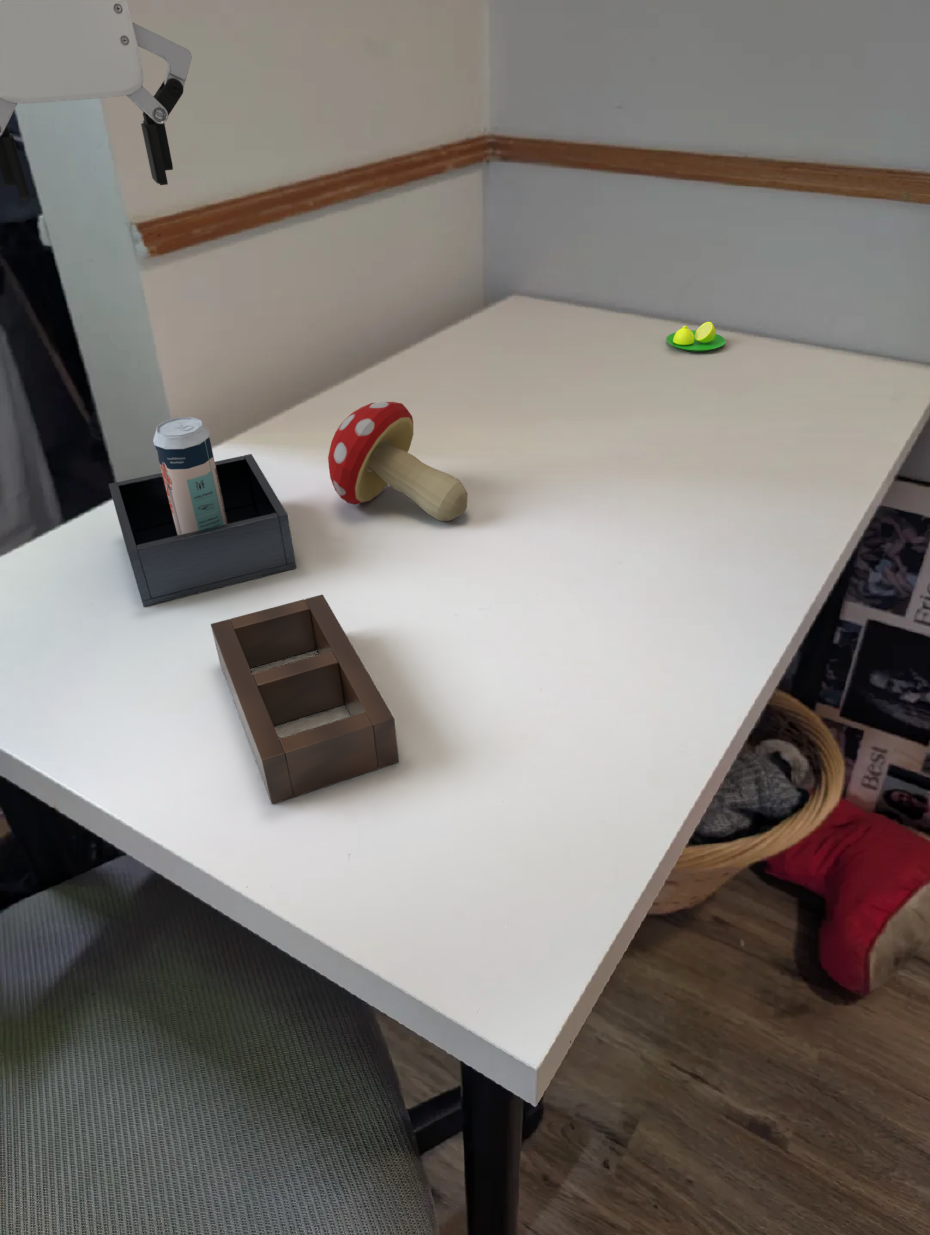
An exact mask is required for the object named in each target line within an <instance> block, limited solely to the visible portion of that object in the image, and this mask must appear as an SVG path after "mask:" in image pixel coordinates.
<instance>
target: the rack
mask: <svg viewBox="0 0 930 1235" xmlns="http://www.w3.org/2000/svg"><path fill="white" fill-rule="evenodd" d="M210 627H211V632H212V637H213V641H214V645H215V649H216V652H217V653H216V654H217V657H218V661H219V665H220V668H221V671H222V673H223V676H224V679H225V681H226V684H227V687H228V689H229V692H230V695H231V698H232V701H233V703H234V707H235V709H236V711H237V712H236V713H237V714H238V717H239V719H240V723H241V725H242V728H243V731H244V734H245V736H246V739H247V741H248V744H249V747H250V749H251V753H252V755H253V758H254V760H255V763H256V766H257V769H258V771H259V774H260V776H261V780H262V782H263V785H264V788H265V790H266V793H267V795H268V799H269V801H270V804H271V805H274V804H277V803H280V802H283V801H286V800H289V799H293V798H294V797H298V796H301V795H304V794H307V793H310V792H313V791H316V790H319V789H322V788H325V787H328V786H331V785H334V784H337V783H340V782H343V781H347V780H349V779H352V778H355V777H358V776H361V775H364V774H368V773H370V772H374V771H376V770H379V769H383V768H385V767H388V766H391V765H393V764H397V763H399V762H400V761H399V760H400V759H399V750H398V742H397V741H398V739H397V730H396V722H395V717H394V715H393V714H392V712H391V710H390V709H389V707H388V705H387V703H386V702H385V700H384V698H383V697H382V695H381V693H380V691H379V689H378V688H377V686H376V684H375V682H374V681H373V679H372V677H371V676H370V674H369V671H368V670H367V669H366V667H365V665H364V663H363V661H362V660H361V658H360V657H359V655H358V653H357V652H356V650H355V648H354V646H353V645H352V643H351V641H350V639H349V637H348V636H347V634H346V631H344V629H343V627H342V625H341V623H340V622H339V620H338V618H337V617H336V615H335V612H333V610H332V608H331V605H329V603H328V601H327V599H326V597H325V595H323V594H319V595H315V596H311V597H308V598H303V599H300V600H295V601H291V602H288V603H285V604H281V605H276V606H272V607H269V608H265V609H262V610H259V611H253V612H251V613H247V614H243V615H239V616H237V617H236V616H235V617H231V618H228V619H223V620H221V621H217V622H213V623H211V624H210ZM315 650H316V651H317V653H318V654H317V655H314V656H310V657H306V658H303V659H300V660H296V661H292V662H288V663H286V664H283V665H279V666H275V667H271V668H268V669H265V670H260V671H258V672H254V673H253V672H252V668H256V667H259V666H262V665H266V664H270V663H273V662H276V661H280V660H284V659H288V658H290V657H291V658H292V657H294V656H298V655H301V654H304V653H308V652H312V651H315ZM343 705H345V707H346V709H347V711H348V714H349V715H350V716H348V717H345V718H341V719H338V720H335V721H332V722H329V723H325V724H322V725H319V726H315V727H312V728H309V729H306V730H302V731H299V732H297V733H296V732H295V733H293V734H290V735H287V736H284V737H279V735H278V733H277V730H276V728H275V726H278V725H281V724H284V723H287V722H291V721H294V720H297V719H301V718H304V717H307V716H310V715H314V714H317V713H320V712H324V711H327V710H329V709H333V708H336V707H340V706H343Z"/></svg>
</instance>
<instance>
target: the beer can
mask: <svg viewBox="0 0 930 1235" xmlns="http://www.w3.org/2000/svg"><path fill="white" fill-rule="evenodd" d="M155 428H156V429H155V433H154V435H153V438H152V440H153V444H154V447H155V451H156V456H157V459H158V463H159V468H160V471H161V473H162V475H163V479H164V483H165V487H166V491H167V495H168V499H169V503H170V507H171V511H172V515H173V519H174V523H175V527H176V531H177V535H182V534H187V533H191V532H195V531H200V530H204V529H208V528H212V527H217V526H221V525H225V524H228V522H227V517H226V513H225V508H224V503H223V499H222V494H221V489H220V484H219V480H218V475H217V470H216V466H215V462H216V461H215V456H214V451H213V447H212V443H211V437H210V434H211V433H210V430H209V429H208V427H207V426H206V425H205V424H204V423H203V422H202V419H200V418H196V417H193V416H182V417H181V416H178V417H175V418H170V419H167V420H164V421H162V422H161V423H159V424H158V425H156V427H155Z"/></svg>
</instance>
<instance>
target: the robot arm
mask: <svg viewBox="0 0 930 1235" xmlns="http://www.w3.org/2000/svg"><path fill="white" fill-rule="evenodd" d="M139 48H141V49H143V50H145V51H148V52H150V53H152V54H154V55H156V56H158V57H160V58H162V59H163V60H164V62H166V65H167V67H166V73H165V77H164V80H163V82H162V83H161V84H160V86H159V87H158V89H157V90H156V91H155V94H154V95H152V94H151V92H150V91H148V89H146V88H145V87H144V86H143V83H144V72H143V64H142V59H141V54H140V49H139ZM191 63H192V53H191V51H190V50H189V49H187V48H186V47H184V46H182V45H181V44H178V43H177V42H174V41H171V40H170V39H168V38H166V37H164V36H161V35H160V34H158V33H156V32H153V31H151V30H150V29H147V28H145V27H143V26H141V25H140V24H137V23H135V22H133V21H132V17H131V13H130V9H129V5H128V1H127V0H0V172H1V175H2V178H3V183H4V184H5V187H16V190H17V194H18V197H19V200H20V201H26V200H29V199H28V198H31V194H30V191H29V187H28V183H27V180H26V176H25V173H24V169H23V165H22V163H21V158H20V155H19V151H18V147H17V145H16V141H15V137H14V134H12V133H10V131H9V126H8V124H9V121H10V120H11V117H12V116H13V113H14V111H15V109H16V108H17V105H18V104H39V103H40V104H42V103H55V102H57V103H58V102H66V101H67V102H68V101H69V102H71V101H81V100H82V101H83V100H94V99H108V98H118V97H124V96H126V97H127V98H128V99H129V100H130V101H131V102H133V104H135V106H137V108H139V110H140V111H141V112H142V118H143V120H142V122H141V123H140V125H141V131H142V136H143V141H144V145H145V151H146V154H147V160H148V164H149V165H148V166H149V169H150V170H149V171H150V173H151V179H152V180H153V181H154V182H155V183H156V184H157V185H159V186H166V185H168V184H169V182H168V178H167V177H168V176H167V172H166V171H173V170H174V165H173V160H172V155H171V150H170V146H169V144H170V143H169V140H168V135H167V128H166V123H167V121H168V118H169V116H170V114H171V112H172V111H173V109H174V108H175V106H176V105H177V103H178V102H179V101H180V99H181V97H182V96H183V94H184V88H185V84H186V81H187V78H188V73H189V70H190V66H191Z"/></svg>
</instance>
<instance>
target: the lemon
mask: <svg viewBox="0 0 930 1235" xmlns="http://www.w3.org/2000/svg"><path fill="white" fill-rule="evenodd" d="M665 340H666V342H667V343H668V344H669V345H671V346H672V347H675V348H676V349H678V350H681V351H685V352H690V353H691V352H692V353H703V352H709V351H712V350H715V349H718V348H721V347H723V346H724V345H725V344H726V341H727V340H726V339H725V337H724V336H722V335H721V334H718V333H716V328H715V325H714V324H713V322H711V321H706V322H704V323H702V324H701V325H700V326H699V327H698V328H697V329H696V330H693V329H692V330H691V329H690V328H689V327H688V325H683V326H682V327H681V328H679V329H678V330H677V331H676V332H671V333H670V334H669V335H667V336H666V338H665Z"/></svg>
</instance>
